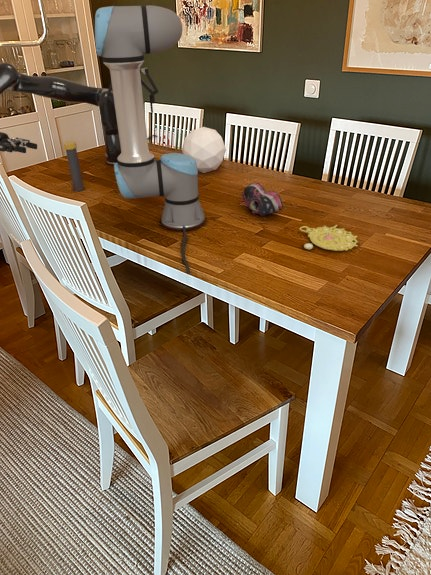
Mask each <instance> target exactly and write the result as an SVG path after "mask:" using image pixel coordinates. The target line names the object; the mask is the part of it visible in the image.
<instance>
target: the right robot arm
mask: <svg viewBox="0 0 431 575" xmlns="http://www.w3.org/2000/svg"><path fill="white" fill-rule="evenodd" d="M182 35H183V23H182V20H181V18H180V16H179V15H178V14H177V13H176V12H174V11H173V10H172V9H170V8H166V7H163V6H158V5H148V4H147V5H127V6H126V5H119V6H117V5H111V6H103V7H99V8H98V9H97V10H96V12H95V15H94V40H95V41H94V42H95V53H96V55H97V57H98V56H99V57H102V62H103V65H105V66H106V68H108V70H109V74H110V83H109V85H108V88H107V89H108V92H107V95H108V96H111V97H112V100H113V105H114V106H115V110H116V117H117V124H118V132H119V139H120V146H121V154H120V155H119V156H118V158H117V159H118V163H115V164H114V165H113V170H114V175H115V181H116V183H117V187H118V190H119V192H120V195H121V196H122V198H124V199H134V200H135V199H136V200H138V199H146V198H157V197H164V204H163V209H162V213H161V219H160V220H161V225H162V227H163V228H165V229H167V230H170V231H175V232H176V231H177V232H182V233H183V240H182V243H181V258H182V261H183V263H184V265H185V268H186V273H187V275H190V274H191V269H190V265H189V263H188V262H187V259H186V256H185V245H186V242H187V231H192V230H195V229H198V228H201V227H202V226H203V225H204V224H205V223H206V215H205V212H204V210H203V208H202V204H201V202H200V196H199V179H198V177H199V176H198V174H199V171H197V163H196V161H195V159H194V158H192V157H191V156H188V155H185V154H183V153H178V152H170V153H169V152H168V153H163V154H162V155H161V156H160V159H157V160H156V159H155V154H153V153H152V152H151V151H150V149H149V143H148V142H149V141H148V140H147V138H148V134H147V132H148V131H147V125H146V124H147V123H146V113H145V106H144V97H143V96H144V95H143V87H144V88H145V89H146V90H147V91H148V93H149V94H148V96H149V105H150V114H153V113H154V107H153V104H155V103H156V100H155V95H157V94H158V93H159V89H158V87H157V85H156V84H155V82H154V80H153V78H152V76H151V75H150V73H149V69H148V67H143V68H141V66H142V65H143V64H144V63H145V55H146V54H147V55H148V54H149V55H150V54H157V53H161V52H164V51H168V50H169V49H171V48H173V47H174V46H176V45H177V44H178V43H179V42H180V40H181V39H182ZM142 73H143V75H145V76H146V78H147V80H148V82H149V83H150V85H151V87H152V88H151V87H150V86H149V85H148V84H147V82H145V81H144V79H142V77H141V76H142V75H141V74H142ZM111 90H112V91H113V93H111Z"/></svg>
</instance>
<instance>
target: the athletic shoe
mask: <svg viewBox="0 0 431 575" xmlns="http://www.w3.org/2000/svg"><path fill="white" fill-rule="evenodd" d="M241 197H242V199H243V201H238V203H239V204H241V205H245V206H246V207H247V208H248V210H249V211H250V210H251V213H252V214H255V215H260V217H266V216H267V215H270V214H274V213H275V212H279V211H282V210H283V209H284V205H283V201H282V198H281V196H280V195H279V194H278V192H277V191H274V190H269V191H267V190H266V189H265V187H264V186H263V185H262V184H261V183H258V182H251V183H249V184H247V186H246V187H245V188H244V190H243V191H242V192H241Z"/></svg>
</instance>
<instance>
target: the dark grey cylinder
mask: <svg viewBox="0 0 431 575" xmlns="http://www.w3.org/2000/svg"><path fill="white" fill-rule="evenodd" d="M65 154H66V158H67V162H68V167H69V173H70V177H71V182H72V188H73V191H74V192H82V191H84V190H85V186H84V182H83V177H82V176H83V175H82V171H81V166H80V161H79V157H78V150H77V148H76V149H72V150H66V149H65Z"/></svg>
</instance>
